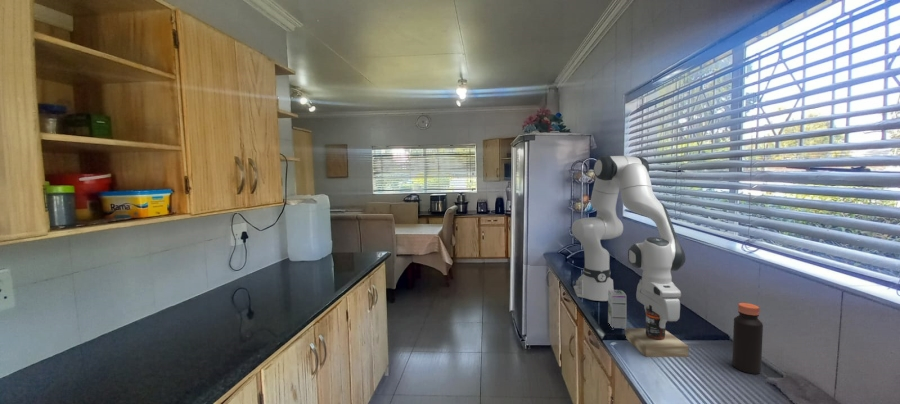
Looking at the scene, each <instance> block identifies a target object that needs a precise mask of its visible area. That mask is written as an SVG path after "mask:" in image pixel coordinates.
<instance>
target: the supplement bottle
mask: <svg viewBox="0 0 900 404" xmlns="http://www.w3.org/2000/svg"><path fill="white" fill-rule="evenodd" d="M659 321H660V315H658V314H657V313H655V312H654V311H652V306H651V305H649V309H648V310H647V311H646V312H645V328H646V335H647V336H648V337H650V338H653V339H664V338H665V330H666V327H665V328H660V327H659V326H658V322H659Z"/></svg>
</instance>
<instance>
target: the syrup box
mask: <svg viewBox="0 0 900 404" xmlns="http://www.w3.org/2000/svg"><path fill="white" fill-rule="evenodd" d="M627 307H628V305H627V294H626V293H625V292H624V291H623V290H622V289H613V290H608V301H607V324H608V323H609V324H610V326H611V327H612V328H613V327H614V328H627V321H628V320H627V316H628V315H627V312H628V310H627ZM609 324H608V325H609ZM610 326H609V327H610Z"/></svg>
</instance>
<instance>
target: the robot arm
mask: <svg viewBox="0 0 900 404" xmlns="http://www.w3.org/2000/svg"><path fill="white" fill-rule="evenodd" d="M649 171H650V165H649V162H648V161H647V159H645V158H643V157H640V156H631V155H603V156H600V157H598V158H597V159H596V160H595V162H594V165H593V173H594V176H595V180H594V183H593V187H592V192H591V196H590V205H591V207H592V208H593V210H595V211H596V216H595V217H593V216H591V217H582V218H579V219H576V220H574V221H573V223H572V225H571V233H572V236H573V237H574V238H575V239H576V240H577V241H578V242H580V244H581V246H582V249H583V252H584V266H583V270H582V274H581V275H580V276H579V277H577V279H576V280H575V285H573V291H574V293H575V295H576V297H578V298H583V299H586V300H590V301H599V302H608V290H614V279H612V278H611V272H612V271H611V268H610V258H611V257H610V253H609V251H608V250H607V249H606V248H604V247H603V246H602V243H601V240H612V239H615V238H618V237H620V236H622V234H623V232H624V224H623V222H622V221H621V219H620V218H619V217H618V215H617V202H618V197H619V194H620V198H621V202H622V204H623V205H624V207H625V208H626V209H627V210H629V211H630V212H632V213H633V214H634V213H635V214H638V215H641V216H644V217H646V218H648V219H650V220H651V221H652V222H653V223H654V224H655V225H656V228H657V232H658V235H659V237H657V236H656V237H655V236H652V237H647V238H645V240H644V241H643V242H637V243H633V244H632V245H631V246H630V247H629V249H628V252H627V260H628V262H629V264H630V265H631V266H632V267H634V268H635V269H639V270H642V274H641V276H642V277H641V278H640V279H639V282H638V284H637V287H636V293H635V295H636V301H637V302H639V303H640V304H642V305H643V308H644V311H645V313H646V311H647V310H648V309H649V305H651V306H652V311H654V312H655V313H657V314H658V315H660V321H659V322H658V326H659V327H660V328H665V329H666V323H668V322H677V321H678V320H680V316H681V315H680V314H681V301H680V298H681V297H682V291H681V290H680V289H679V288H678V287H677V286H676V284H674V282H673V280H672V278H673V277H672V273H671V272H676V271H678V270H680V269H681V268H682V267H683V266H684V264H685V262H686V260H687V259H686V253H685V251H684V248H683V247H682V245H681V244H680V241H679V239H678V237H677V234H676V231H675V228H674V225H673V223H672V220H671V217H670V214H669V212H668V209H667V206H666V205H665V204H664V203H663V202H661V201H659V200H658V198H657V197H656V195H655V193H654V191H653V186H652V181H651V177H650V175H649V174H650V173H649Z"/></svg>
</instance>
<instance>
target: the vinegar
mask: <svg viewBox="0 0 900 404" xmlns="http://www.w3.org/2000/svg"><path fill="white" fill-rule="evenodd" d="M737 305H738V306H737V311H738V313H739V315H737V316H736V317H734V318H733V335H732V336H733V337H732V361H731V364H732V366H733V367H734V368H735V370H738V371H740V372H743V373H747V374H753V375H757V374H760V373H761V372H762V354H763V352H762V351H763V333H764V332H763V330H764V324H763V322H762V321H761V320H760V319H759V318H758V317H759V315H760V306H758V305H756V304H753V303H748V302H740V303H737Z"/></svg>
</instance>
